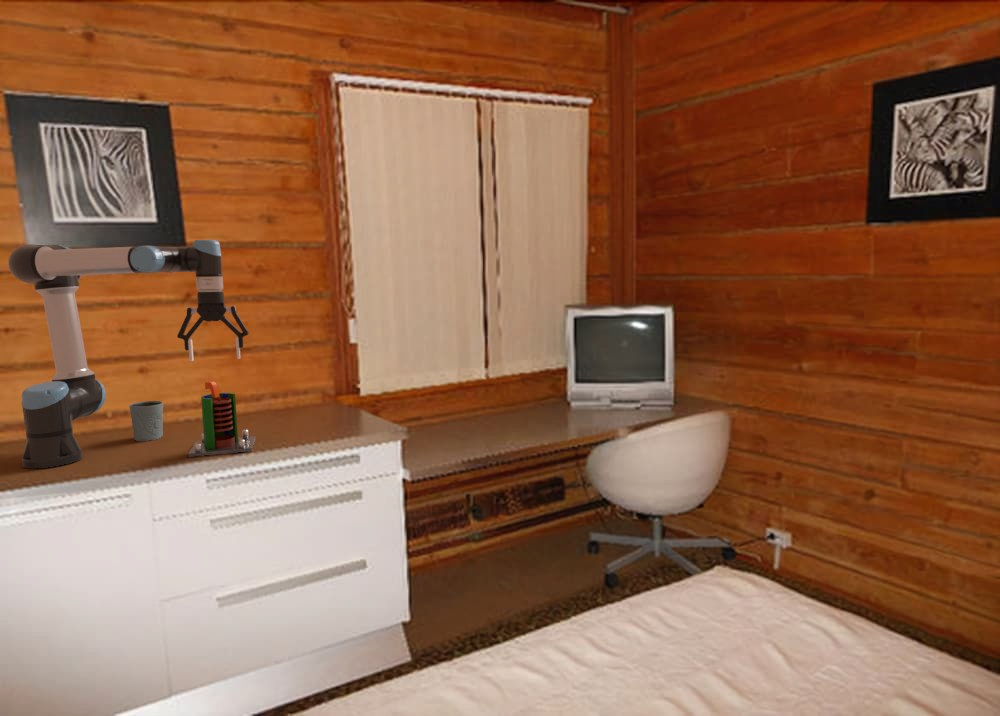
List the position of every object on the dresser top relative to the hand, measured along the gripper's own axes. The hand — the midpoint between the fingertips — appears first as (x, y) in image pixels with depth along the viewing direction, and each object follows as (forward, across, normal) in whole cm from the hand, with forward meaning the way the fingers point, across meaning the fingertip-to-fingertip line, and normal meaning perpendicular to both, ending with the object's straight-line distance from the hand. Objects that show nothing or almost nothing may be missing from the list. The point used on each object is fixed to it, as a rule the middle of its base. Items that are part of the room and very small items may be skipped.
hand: (215, 359), depth 213 cm
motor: (+27, 0, 0) cm, 27 cm away
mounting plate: (+28, 0, 0) cm, 28 cm away
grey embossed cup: (+29, -26, +24) cm, 45 cm away
